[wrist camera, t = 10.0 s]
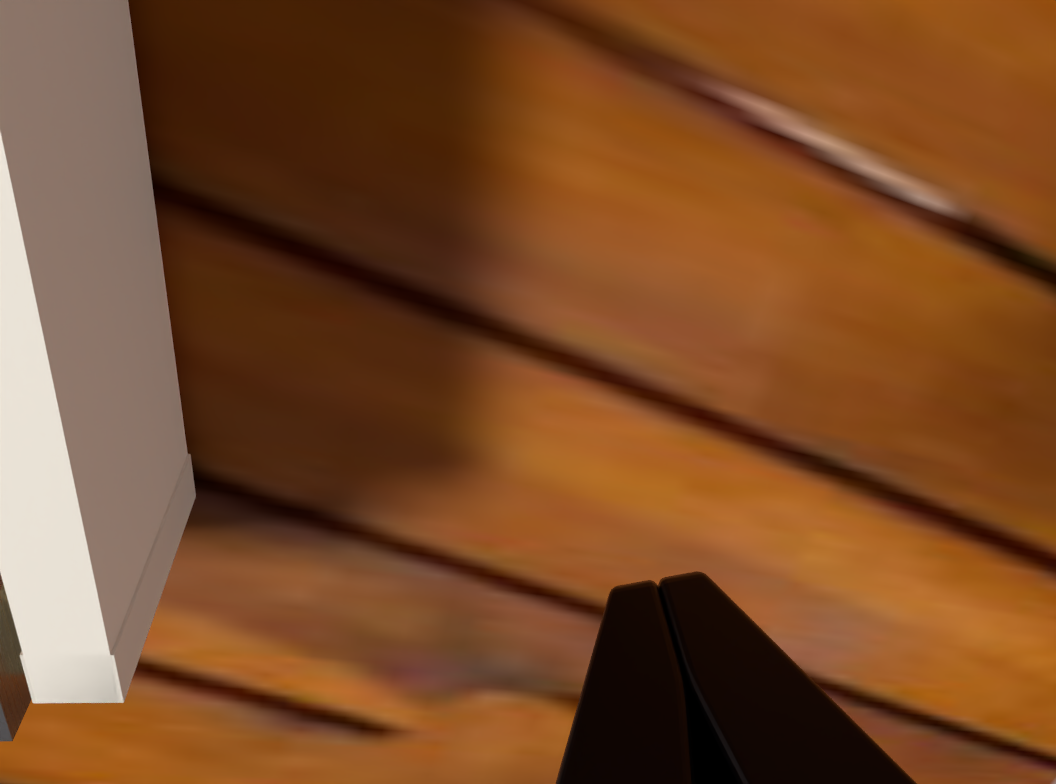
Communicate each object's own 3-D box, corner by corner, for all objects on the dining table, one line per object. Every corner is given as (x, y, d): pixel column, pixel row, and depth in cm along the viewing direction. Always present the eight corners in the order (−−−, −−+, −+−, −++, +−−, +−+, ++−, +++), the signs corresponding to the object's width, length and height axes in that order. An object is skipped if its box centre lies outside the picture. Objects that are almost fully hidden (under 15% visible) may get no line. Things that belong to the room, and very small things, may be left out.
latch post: (129, 534, 20) (42, 740, 15) (1, 533, 19) (-123, 743, 15) (110, 434, 18) (9, 629, 14) (-27, 433, 18) (-172, 631, 14)
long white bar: (-7, -254, 12) (-240, -273, 8) (100, -244, 13) (-75, -259, 8) (126, 495, 19) (32, 703, 14) (195, 496, 19) (123, 703, 15)
